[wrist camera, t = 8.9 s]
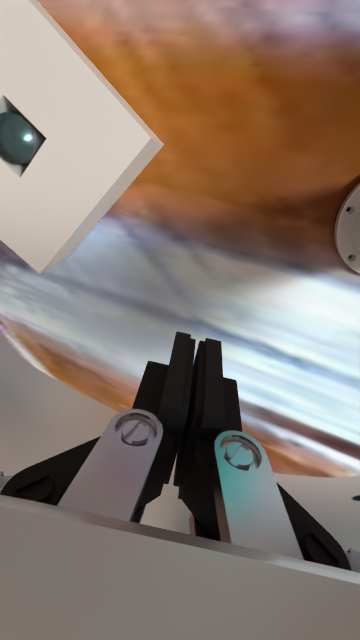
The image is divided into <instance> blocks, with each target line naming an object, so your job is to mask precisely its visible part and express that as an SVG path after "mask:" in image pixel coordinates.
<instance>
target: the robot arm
mask: <svg viewBox="0 0 360 640" xmlns="http://www.w3.org/2000/svg"><path fill="white" fill-rule="evenodd" d="M348 207H349V208H350V209H349V211H346V210H347V208H348ZM334 239H335V245H336V248H337V251H338V253H339V255H340V257H341V258H342V260H343V261H344V262H345V263H346V264H347V265H348V266H349V267H350V268H352V269H353V270H355V271H356V272H358V273H360V182H359V183H358V184H357V185H356V186H355V187H354V189H353V190H352V191H351V192H350V193H349V194H348V196H347V197H346V199H345V200H344V202H343V204H342V206H341V208H340V210H339V212H338V215H337V218H336V223H335V229H334ZM349 255H351V257H349V258H348V256H349ZM190 337H191V335H190V334H186V333H181V332H176V336H175V341H174V345H173V350H172V354H171V359H170V363H169V365H165V364H161V363H156V362H152V361H148V363H147V366H146V369H145V372H144V375H143V378H142V381H141V384H140V386H139V389H138V392H137V395H136V398H135V401H134V404H133V407H132V409H128V410H125V411H122V412H120V413H118V414H116V416H114V418H113V419H112V420H111V421H110V423H109V425H108V426H107V428H106V429H105V431H104V432H103V434H102V435H101V436H100V437H98V438H96V439H93V440H91V441H88V442H86V443H84V444H82V445H79V446H77V447H75V448H72V449H70V450H67V451H65V452H63V453H61V454H58V455H56V456H54V457H51V458H49V459H47V460H44V461H42V462H40V463H37V464H35V465H33V466H30V467H28V468H26V469H24V470H22V471H20V472H19V473H17V474H16V475H14V476H4V474H3V472H0V640H360V552H358V551H356V550H353V549H351V548H350V549H349V550H348V551H347V552H346V551H344V550H343V549H342V547H341V546H340V545H339V543H338V542H337V541H336V540H335V539H334V538H333V536H332V535H331V534H330V533H329V532H327V531H326V530H325V529H324V528H323V527H322V526H321V525H320V524H319V523H318V522H317V521H316V520H315V519H314V518H313V517H312V516H311V515H310V514H309V513H308V512H307V511H306V510H305V509H304V508H303V507H302V506H301V505H300V504H299V503H298V502H296V501H295V500H294V499H293V498H292V497H291V496H290V495H289V494H288V493H287V492H286V491H285V490H284V489H283V488H282V487H281V486H280V485H279V484H278V483H277V482H276V480H275V477H274V474H273V472H272V469H271V466H270V463H269V460H268V457H267V455H266V452H265V451H264V449H263V447H262V446H261V445H260V443H259V442H258V441H257V440H255V439H254V438H253V437H251V436H250V435H248V434H246V433H243V432H242V425H241V416H240V407H239V399H238V390H237V383H236V380H233V379H229V378H224V377H223V369H222V349H221V341H217V340H213V339H208V338H206V340H205V342H204V341H200V342H199V345H198V349H197V353H196V356H195V360H194V351H195V341H196V340H195V339H191V338H190ZM193 361H194V364H193ZM176 455H177V458H176ZM175 458H176V467H175V475H174V483H173V485H174V486H178V487H179V495H178V498H179V499H182V500H183V502H184V503H185V505H186V506H187V507H188V509H189V510H190V514H189V528H190V535H188V534H184V533H179V532H175V531H170V530H166V529H161V528H157V527H152V526H148V525H143V524H140V521H141V519H142V516H143V513H144V510H145V506H146V504H147V503H149V502H151V501H152V500H154V499H155V498H157V497H158V496H160V495H161V491H162V487H163V484H168V483H169V479H170V476H171V472H172V469H173V465H174V462H175Z"/></svg>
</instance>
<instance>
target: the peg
mask: <svg viewBox="0 0 360 640" xmlns="http://www.w3.org/2000/svg"><path fill="white" fill-rule="evenodd" d="M46 139H47V138H46V137H45V136H44V135H43V134H42V133H41V132H40V131H39V130H38V129H37V128H36V127H35V126H34V125H33V124H32V123H31V122H30V121H29V120H28V119H27V118H26V117H25V116H22V115H18V114H15V113H11V112H3V113H0V155H1V156H2V157H3V158H4V159H6V160H7V161H9V162H12V163H25V164H30V163H31V161H32V160H33V158H34V157H35V155H36V154H37V152H38V151H39V149H40V148H41V146H42V145H43V143H44V142H45V140H46Z"/></svg>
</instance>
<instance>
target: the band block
mask: <svg viewBox="0 0 360 640" xmlns="http://www.w3.org/2000/svg"><path fill="white" fill-rule="evenodd" d="M3 112H11V113H15V114H18V115H22V116H25V117H26V118H27V119H28V120H29V121H30V122H31V123H32V124H33V125H34V126H35V127H36V128H37V129H38V130H39V131H40V132H41V133H42V134H43V135H44V136H45V137H46V138H47V139H46V140H45V142H44V143H43V145H42V146H41V148H40V149H39V151H38V152H37V154H36V155H35V157H34V158H33V160H32V161H31V163H30V164H25V163H12V162H9V161H7V160H6V159H4V158H3V157H2V156H1V155H0V240H1V241H2V242H3V243H4V244H6V245H7V246H8V247H9V248H10V249H11V250H13V251H14V252H15V253H16V254H17V255H18V256H20V257H21V258H22V259H23V260H24V261H25V262H26V263H28V264H29V265H30V266H31V267H32V268H33V269H35V270H36V271H37V272H38V273H39V274H40V273H42V272H44V271H45V270H47V269H49V268H50V267H52V266H54V265H55V264H57V263H59V262H60V261H62V260H64V259H65V258H67V257H69V256H70V255H71V254H72V253H73V252H74V251H75V249H76V248H77V247H78V246H79V245H80V244H81V242H82V241H83V240H84V239H85V238H86V236H87V235H88V234H89V233H90V232H91V230H92V229H93V228H94V227H95V226H96V225H97V223H98V222H99V221H100V220H101V219H102V217H103V216H104V215H105V214H106V213H107V212H108V210H109V209H110V208H111V207H112V206H113V204H114V203H115V202H116V201H117V200H118V199H119V197H120V196H121V195H122V194H123V193H124V191H125V190H126V189H127V188H128V187H129V186H130V184H131V183H132V182H133V181H134V180H135V178H136V177H137V176H138V175H139V174H140V173H141V171H142V170H143V169H144V168H145V167H146V165H147V164H148V163H149V162H150V161H151V160H152V158H153V157H154V156H155V155H156V154H157V152H158V151H159V150H160V149H161V148H162V147H163V145H164V144H163V143H162V142H161V141H160V140H159V139H158V137H157V136H156V135H155V134H154V133H153V132H152V131H151V130H150V128H149V127H148V126H147V125H146V124H145V123H144V122H143V120H142V119H141V118H140V117H139V116H138V115H137V114H136V112H135V111H134V110H133V109H132V108H131V107H130V106H129V104H128V103H127V102H126V101H125V100H124V99H123V98H122V97H121V95H120V94H119V93H118V92H117V91H116V90H115V89H114V87H113V86H112V85H111V84H110V83H109V82H108V81H107V79H106V78H105V77H104V76H103V75H102V74H101V73H100V71H99V70H98V69H97V68H96V67H95V66H94V65H93V64H92V62H91V61H90V60H89V59H88V58H87V57H86V56H85V54H84V53H83V52H82V51H81V50H80V49H79V48H78V46H77V45H76V44H75V43H74V42H73V41H72V40H71V38H70V37H69V36H68V35H67V34H66V33H65V32H64V31H63V29H62V28H61V27H60V26H59V25H58V24H57V23H56V21H55V20H54V19H53V18H52V17H51V16H50V15H49V13H48V12H47V11H46V10H45V9H44V8H43V7H42V5H41V4H40V3H39V2H38V1H37V0H0V113H3Z"/></svg>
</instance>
